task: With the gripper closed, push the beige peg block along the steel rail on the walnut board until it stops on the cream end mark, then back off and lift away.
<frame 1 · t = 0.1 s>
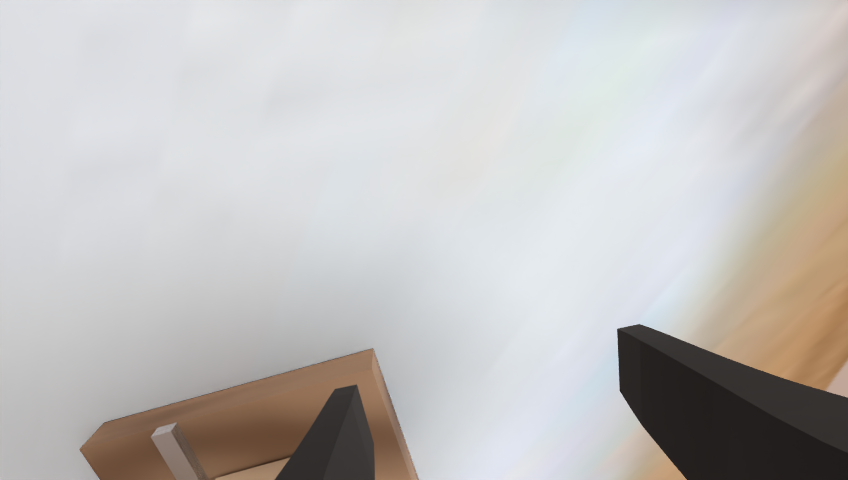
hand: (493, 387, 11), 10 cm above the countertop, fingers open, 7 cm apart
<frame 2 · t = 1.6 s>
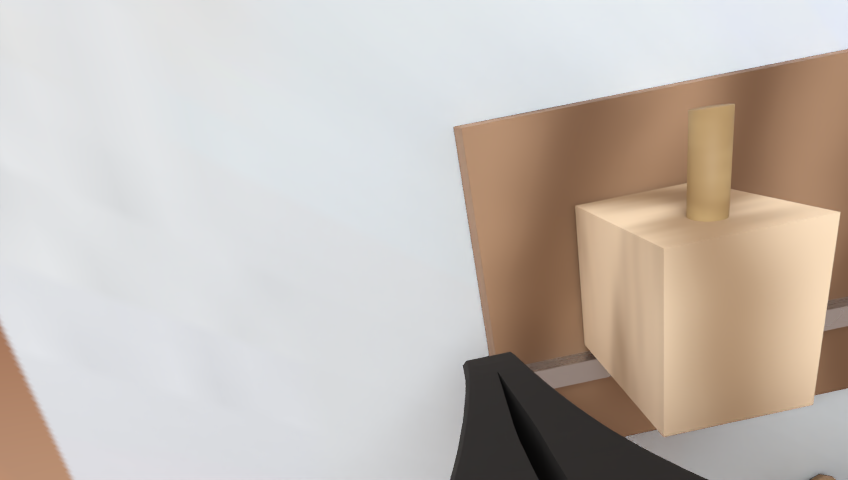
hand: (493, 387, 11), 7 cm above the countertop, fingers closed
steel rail: (695, 312, 19), resting on walnut board
walnut board: (697, 254, 18), on the countertop
beige peg block: (681, 253, 13), point 4 cm above the countertop, slide at 0.0 cm
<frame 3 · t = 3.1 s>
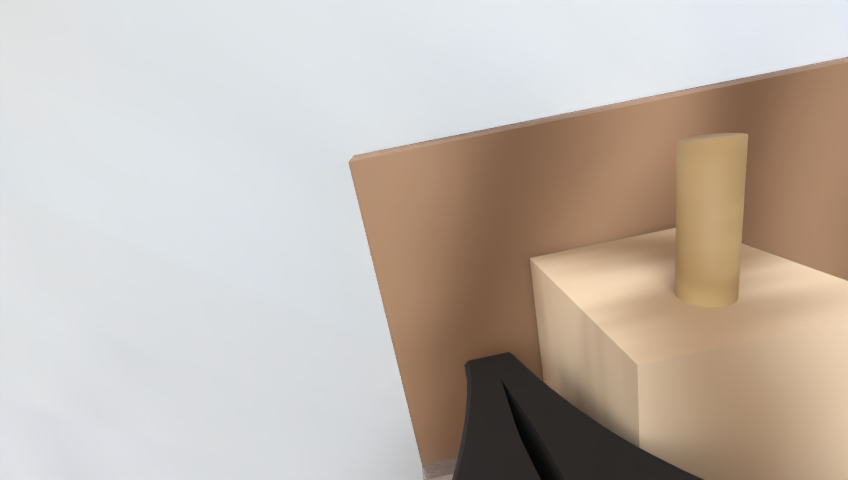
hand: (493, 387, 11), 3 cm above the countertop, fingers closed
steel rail: (677, 378, 15), resting on walnut board
walnut board: (677, 309, 14), on the countertop
beige peg block: (670, 334, 9), point 4 cm above the countertop, slide at 0.6 cm, touching gripper
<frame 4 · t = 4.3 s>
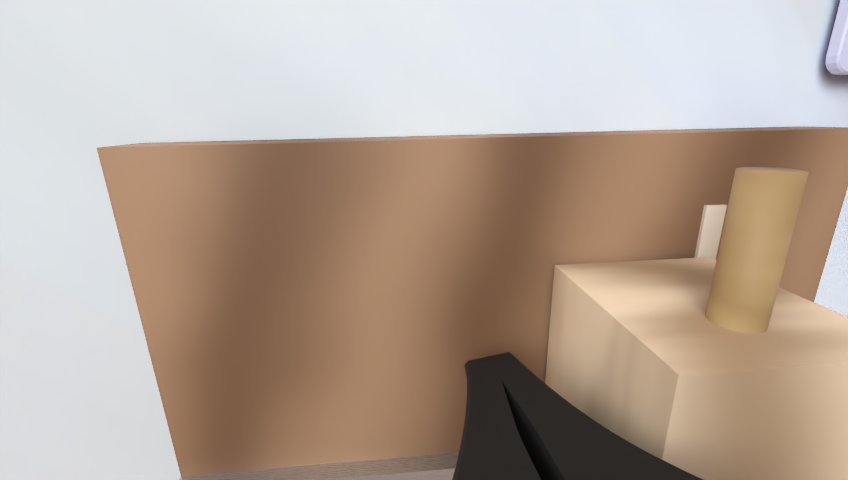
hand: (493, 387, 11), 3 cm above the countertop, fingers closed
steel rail: (483, 421, 15), resting on walnut board
walnut board: (485, 352, 14), on the countertop
beige peg block: (686, 357, 9), point 5 cm above the countertop, slide at 7.7 cm, touching gripper
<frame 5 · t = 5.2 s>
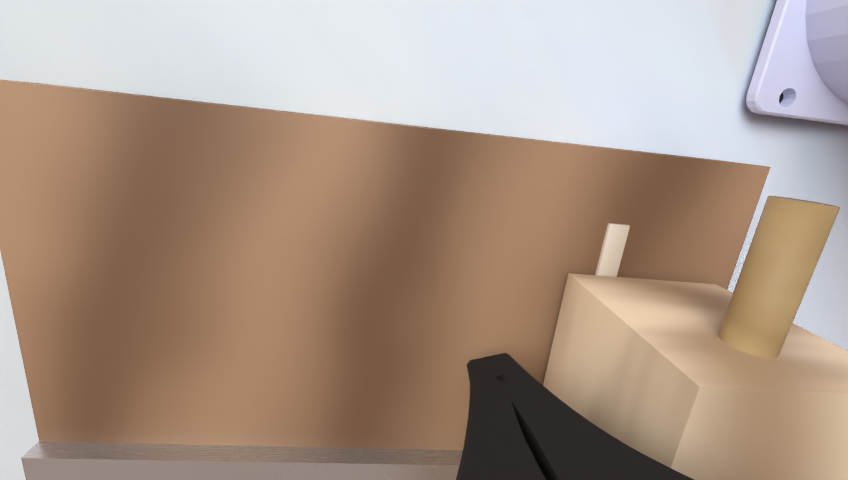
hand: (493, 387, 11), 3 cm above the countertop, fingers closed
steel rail: (381, 420, 15), resting on walnut board
walnut board: (388, 349, 14), on the countertop
beige peg block: (690, 376, 10), point 4 cm above the countertop, slide at 11.1 cm, touching gripper
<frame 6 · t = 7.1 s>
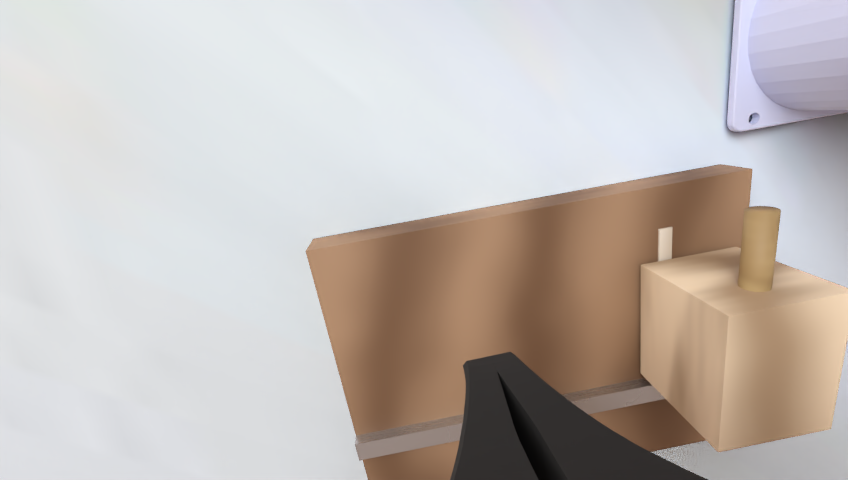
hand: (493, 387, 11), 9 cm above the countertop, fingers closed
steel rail: (537, 382, 22), resting on walnut board
walnut board: (532, 336, 21), on the countertop
beige peg block: (730, 308, 17), point 5 cm above the countertop, slide at 11.0 cm
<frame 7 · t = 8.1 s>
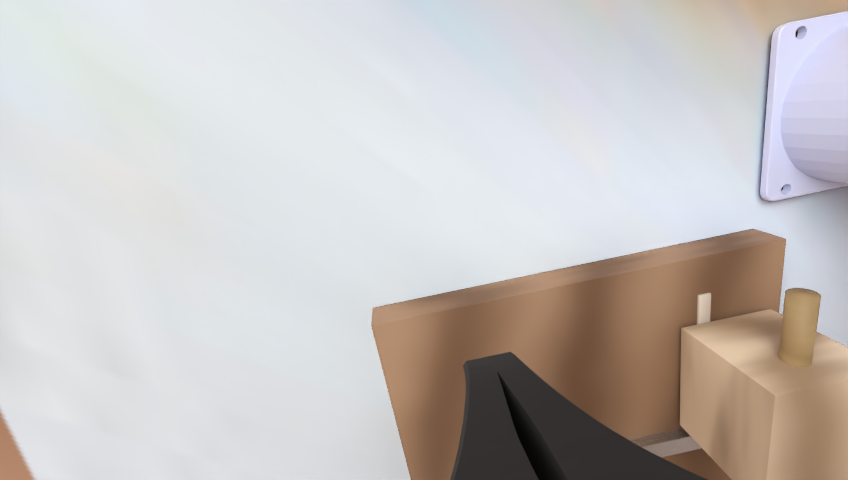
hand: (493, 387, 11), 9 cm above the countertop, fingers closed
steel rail: (578, 430, 24), resting on walnut board
walnut board: (575, 388, 23), on the countertop
beige peg block: (769, 374, 18), point 5 cm above the countertop, slide at 11.0 cm
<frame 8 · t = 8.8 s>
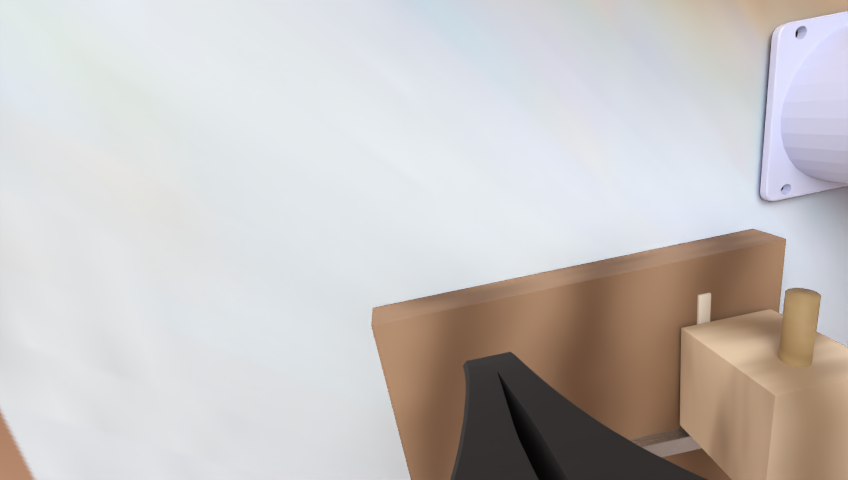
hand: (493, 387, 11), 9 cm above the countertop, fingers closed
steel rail: (578, 430, 24), resting on walnut board
walnut board: (575, 388, 23), on the countertop
beige peg block: (769, 374, 18), point 4 cm above the countertop, slide at 11.0 cm
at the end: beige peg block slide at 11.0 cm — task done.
